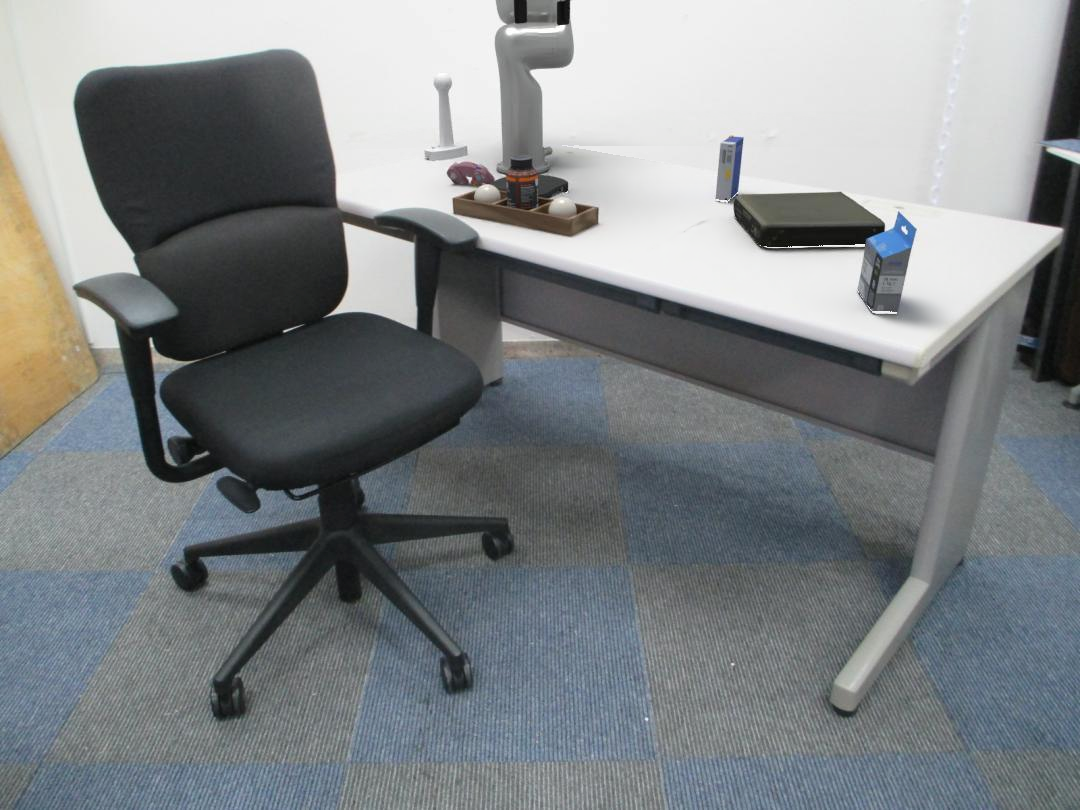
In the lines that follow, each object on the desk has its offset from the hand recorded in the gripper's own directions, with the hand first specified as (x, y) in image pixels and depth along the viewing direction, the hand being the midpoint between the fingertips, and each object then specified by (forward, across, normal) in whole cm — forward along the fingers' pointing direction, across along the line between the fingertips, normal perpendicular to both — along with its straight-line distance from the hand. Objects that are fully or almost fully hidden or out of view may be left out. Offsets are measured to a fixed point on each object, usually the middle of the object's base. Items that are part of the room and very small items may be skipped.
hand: (541, 24), depth 154 cm
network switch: (+34, +52, +8) cm, 63 cm away
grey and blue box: (+34, +73, -20) cm, 83 cm away
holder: (+33, +6, -15) cm, 37 cm away
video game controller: (+34, -20, +1) cm, 39 cm away
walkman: (+34, +31, +22) cm, 51 cm away
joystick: (+34, -46, +21) cm, 61 cm away
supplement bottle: (+33, +6, -15) cm, 36 cm away
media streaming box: (+34, -6, +3) cm, 35 cm away
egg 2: (+32, +15, -15) cm, 39 cm away
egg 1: (+32, -3, -15) cm, 36 cm away
